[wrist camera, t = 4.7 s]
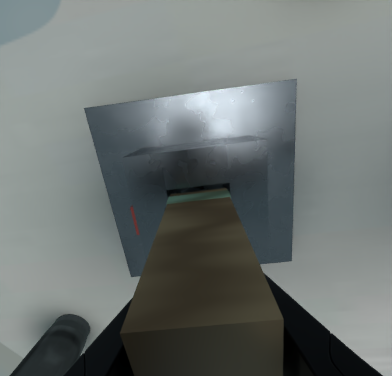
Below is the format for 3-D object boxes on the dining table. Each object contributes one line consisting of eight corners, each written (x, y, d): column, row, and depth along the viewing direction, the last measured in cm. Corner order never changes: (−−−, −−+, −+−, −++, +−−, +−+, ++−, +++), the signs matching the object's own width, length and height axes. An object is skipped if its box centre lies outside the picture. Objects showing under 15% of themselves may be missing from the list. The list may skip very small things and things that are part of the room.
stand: (292, 80, 17) (333, 62, 12) (288, 256, 23) (315, 296, 18) (88, 108, 18) (44, 103, 13) (133, 271, 24) (115, 314, 18)
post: (226, 187, 14) (286, 317, 5) (230, 237, 16) (284, 419, 6) (169, 193, 14) (117, 332, 5) (178, 242, 16) (150, 427, 6)
